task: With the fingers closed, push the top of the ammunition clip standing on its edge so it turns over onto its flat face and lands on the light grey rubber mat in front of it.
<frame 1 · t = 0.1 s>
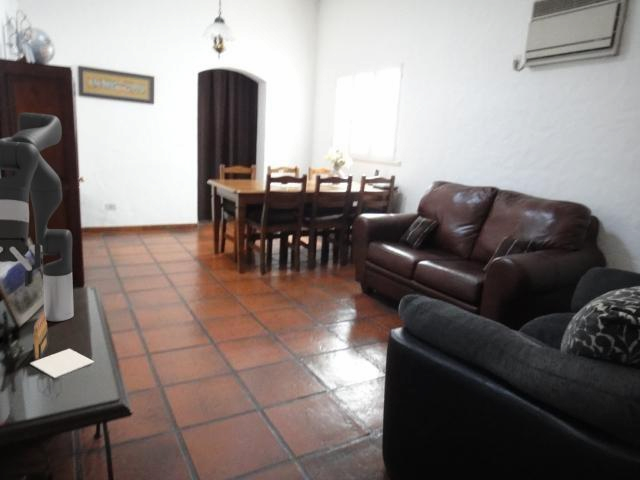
hand: (6, 287, 106), 31 cm above the table, tool tilted 20°, fingers open, 8 cm apart
mat: (62, 363, 134), on the table
ammunition clip: (41, 352, 139), on the table
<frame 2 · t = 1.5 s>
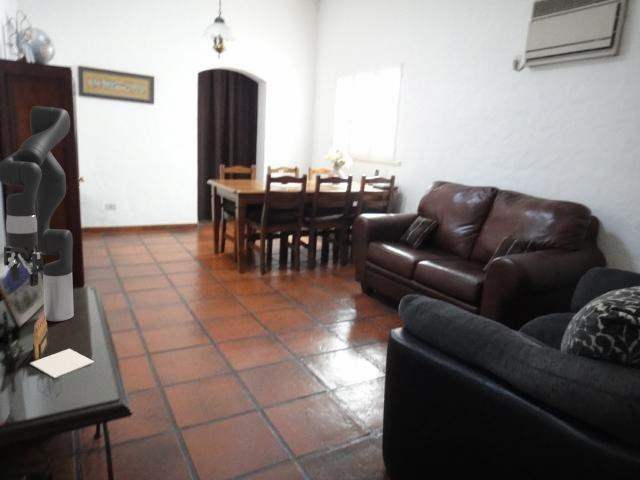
hand: (24, 282, 133), 23 cm above the table, tool pointing down, fingers open, 8 cm apart
nothing on the table moved.
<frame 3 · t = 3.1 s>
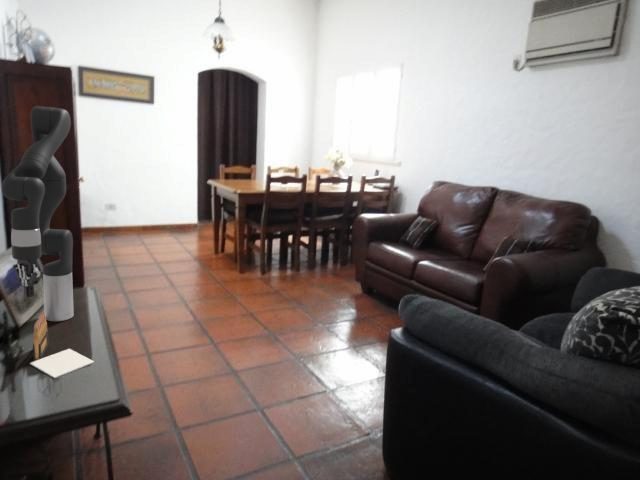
hand: (29, 296, 138), 17 cm above the table, tool pointing down, fingers closed
nothing on the table moved.
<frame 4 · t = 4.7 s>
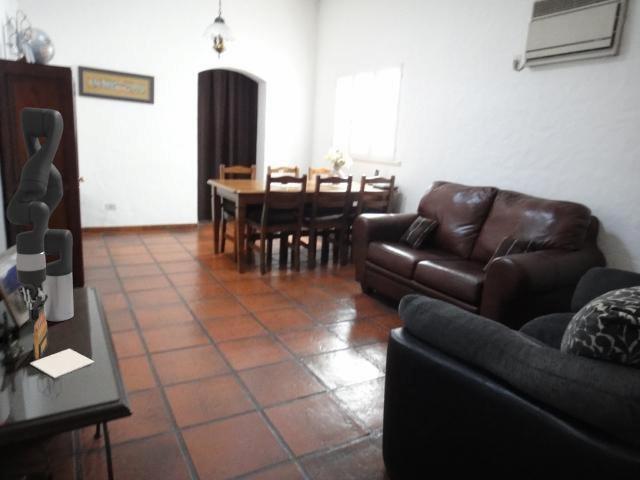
hand: (34, 319, 138), 10 cm above the table, tool pointing down, fingers closed
nothing on the table moved.
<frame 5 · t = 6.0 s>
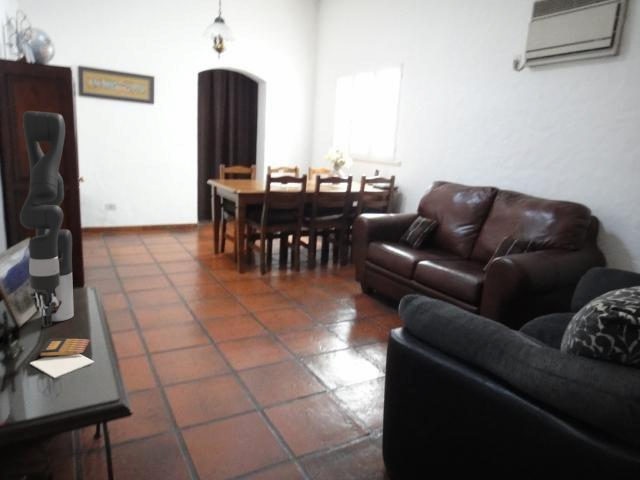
hand: (47, 325, 135), 10 cm above the table, tool pointing down, fingers closed
ammunition clip: (44, 347, 139), point 1 cm above the table, touching mat
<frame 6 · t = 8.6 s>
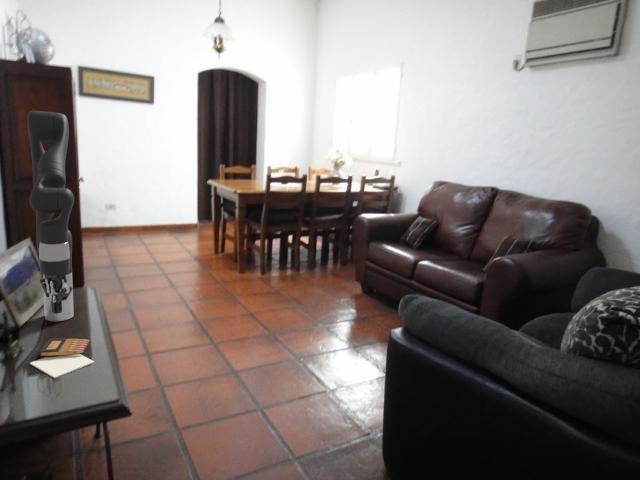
hand: (56, 312, 131), 16 cm above the table, tool pointing down, fingers closed
nothing on the table moved.
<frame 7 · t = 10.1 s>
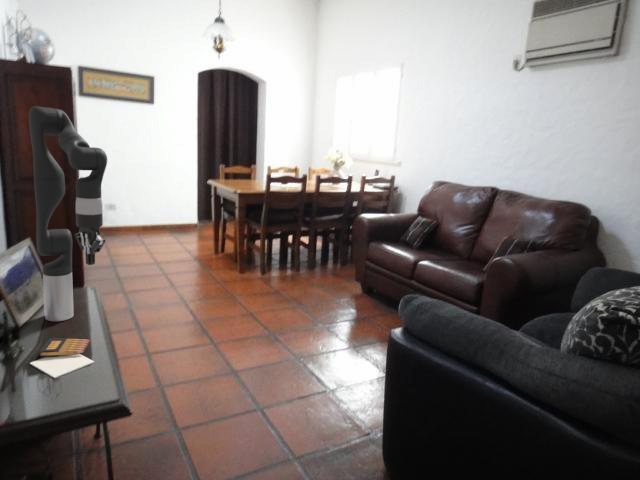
hand: (90, 264, 143), 27 cm above the table, tool pointing down, fingers closed
nothing on the table moved.
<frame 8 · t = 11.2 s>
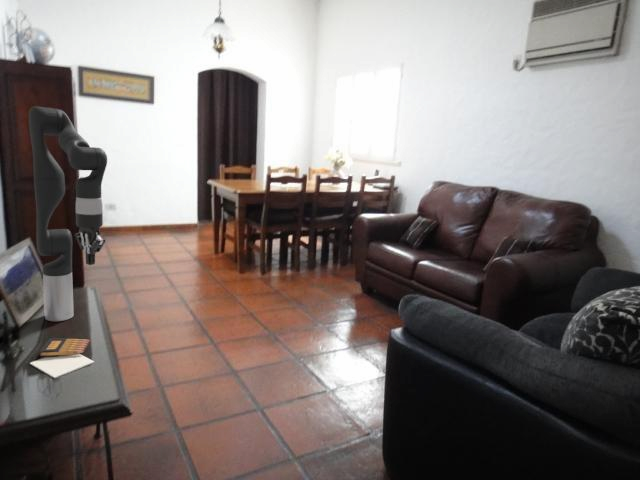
hand: (90, 264, 143), 27 cm above the table, tool pointing down, fingers closed
nothing on the table moved.
at the end: ammunition clip tilted 90°; ammunition clip touching mat, table; ammunition clip inside the target area (3.2 cm from its centre), point 1.3 cm above the table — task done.
